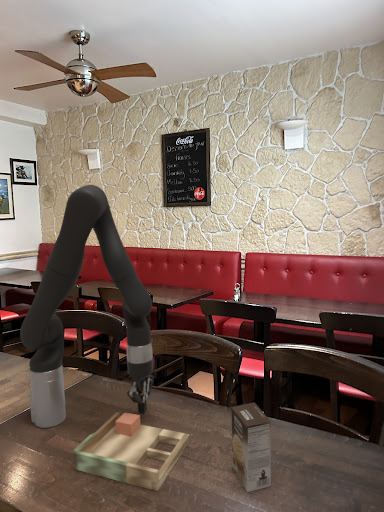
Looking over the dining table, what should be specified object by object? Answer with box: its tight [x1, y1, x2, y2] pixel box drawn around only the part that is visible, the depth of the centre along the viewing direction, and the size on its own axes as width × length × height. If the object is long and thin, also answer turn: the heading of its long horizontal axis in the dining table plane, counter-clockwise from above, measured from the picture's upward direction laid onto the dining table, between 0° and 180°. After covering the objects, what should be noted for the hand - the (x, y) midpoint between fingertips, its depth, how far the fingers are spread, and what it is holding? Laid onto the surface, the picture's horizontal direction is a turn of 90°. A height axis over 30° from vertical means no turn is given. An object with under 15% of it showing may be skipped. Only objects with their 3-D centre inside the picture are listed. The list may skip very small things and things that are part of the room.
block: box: [115, 412, 142, 437], centre depth 109 cm, size 5×5×4 cm
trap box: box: [73, 411, 191, 492], centre depth 101 cm, size 23×20×5 cm
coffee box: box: [231, 402, 272, 493], centre depth 90 cm, size 9×6×16 cm
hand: (142, 412), depth 116 cm, fingers closed
